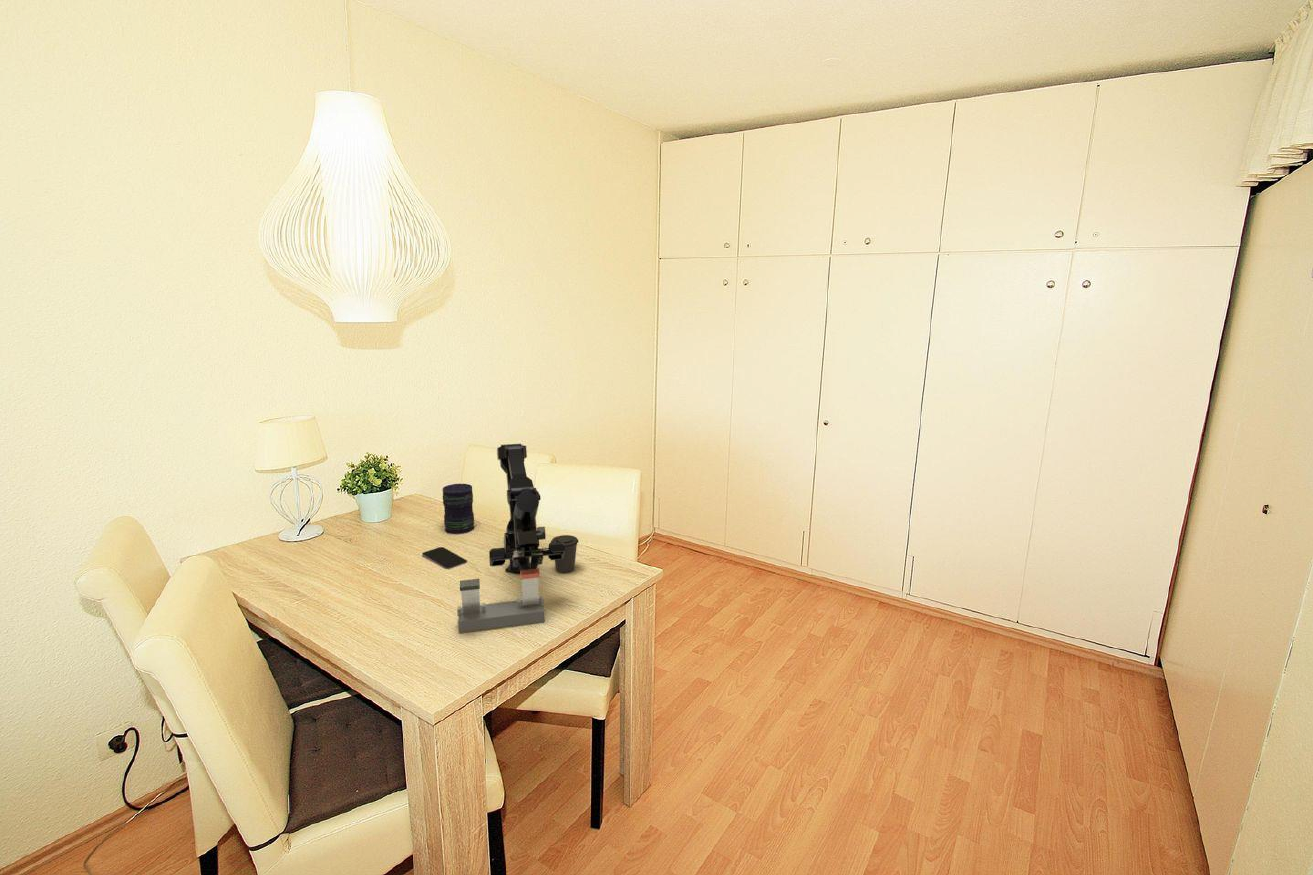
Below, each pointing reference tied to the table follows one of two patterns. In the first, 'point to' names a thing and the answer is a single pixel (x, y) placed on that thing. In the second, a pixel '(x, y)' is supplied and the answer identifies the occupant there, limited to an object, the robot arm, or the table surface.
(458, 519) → the storage jar
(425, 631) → the table surface
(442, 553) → the smartphone
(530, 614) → the switch box
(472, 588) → the cream dark-capped block
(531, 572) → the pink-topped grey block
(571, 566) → the coffee cup
